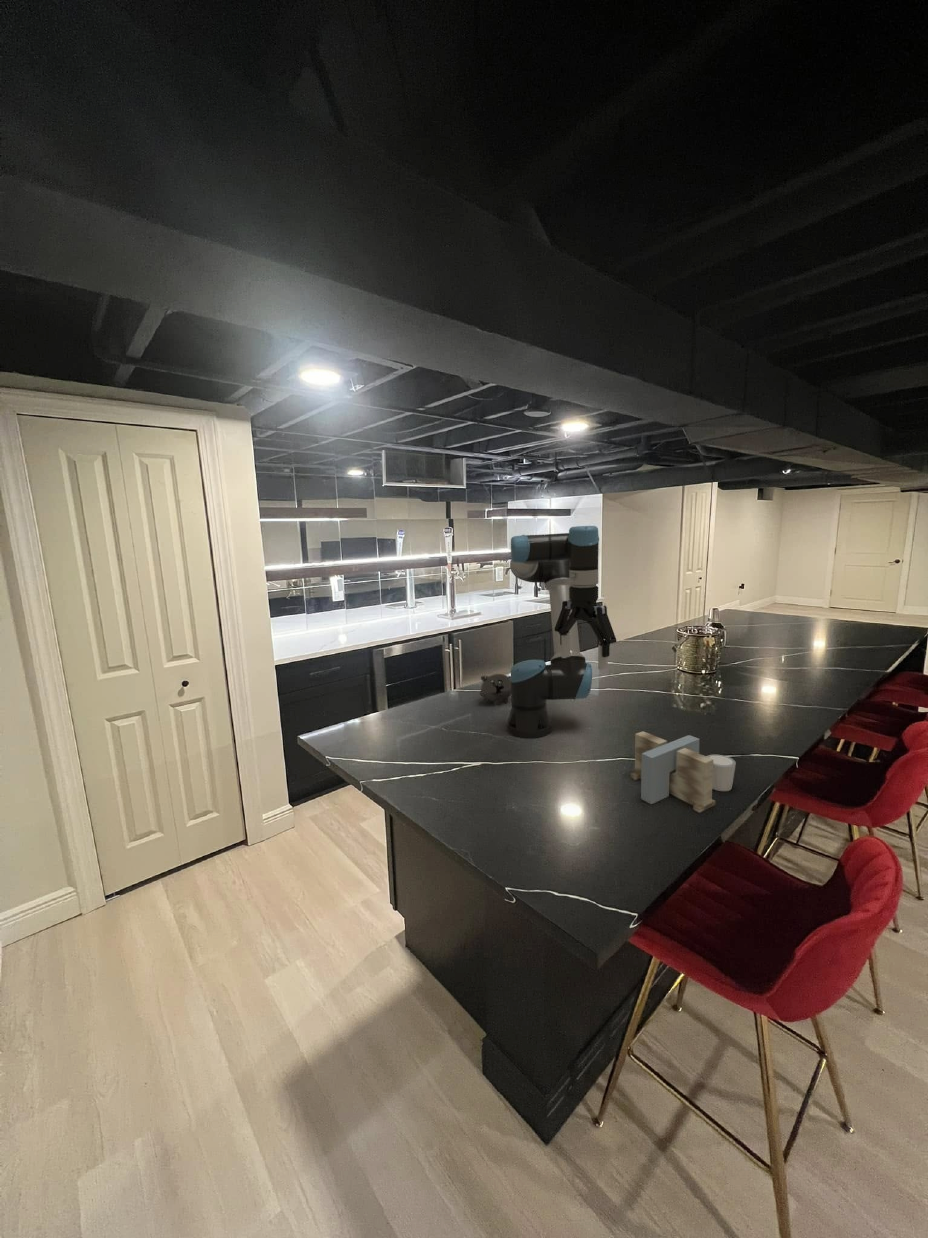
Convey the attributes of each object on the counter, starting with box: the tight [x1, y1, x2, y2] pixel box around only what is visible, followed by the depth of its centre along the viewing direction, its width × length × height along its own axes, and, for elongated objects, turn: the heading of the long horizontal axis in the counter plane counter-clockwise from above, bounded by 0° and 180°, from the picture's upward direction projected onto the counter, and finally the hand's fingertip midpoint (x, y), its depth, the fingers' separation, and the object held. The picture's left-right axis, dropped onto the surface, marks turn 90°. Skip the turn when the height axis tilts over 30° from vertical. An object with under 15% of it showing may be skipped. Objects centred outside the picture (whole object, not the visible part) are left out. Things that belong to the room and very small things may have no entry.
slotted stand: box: [630, 730, 716, 814], centre depth 120 cm, size 20×6×12 cm, turn 30°
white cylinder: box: [706, 753, 737, 792], centre depth 122 cm, size 7×7×7 cm
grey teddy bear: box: [479, 673, 511, 706], centre depth 189 cm, size 11×15×12 cm
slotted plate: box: [640, 734, 701, 805], centre depth 120 cm, size 18×3×12 cm, turn 120°
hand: (583, 662), depth 131 cm, fingers open, 13 cm apart
